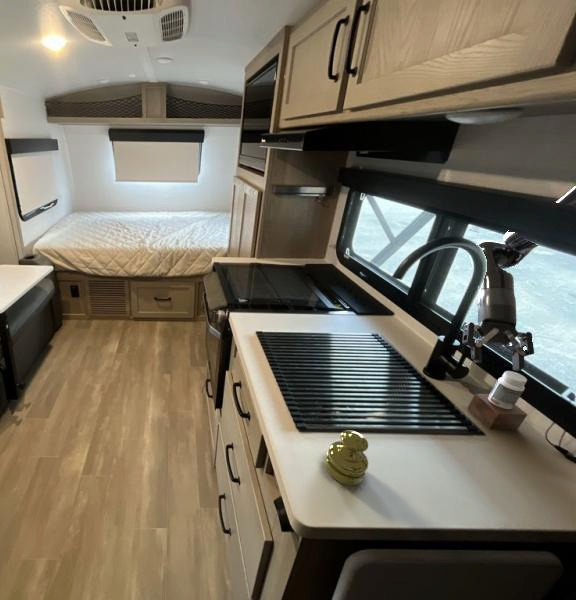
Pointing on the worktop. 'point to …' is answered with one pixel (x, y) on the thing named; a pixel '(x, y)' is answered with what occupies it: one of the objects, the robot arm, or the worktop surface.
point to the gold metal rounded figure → (348, 458)
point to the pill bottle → (507, 390)
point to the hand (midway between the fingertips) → (497, 366)
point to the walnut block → (496, 413)
